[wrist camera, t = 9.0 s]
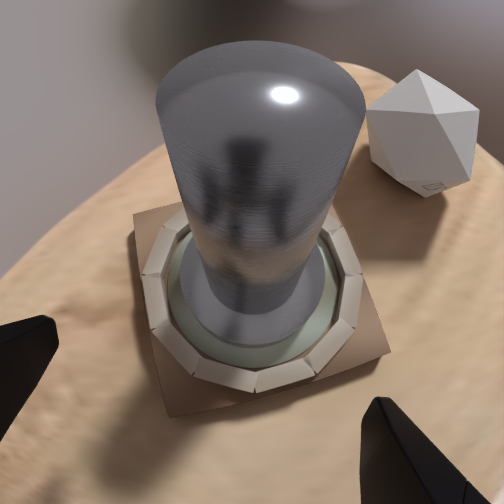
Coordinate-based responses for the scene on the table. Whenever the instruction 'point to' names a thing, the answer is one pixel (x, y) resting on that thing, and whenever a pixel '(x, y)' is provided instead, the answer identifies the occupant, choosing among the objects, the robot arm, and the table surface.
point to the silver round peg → (257, 180)
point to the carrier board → (249, 359)
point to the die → (423, 134)
